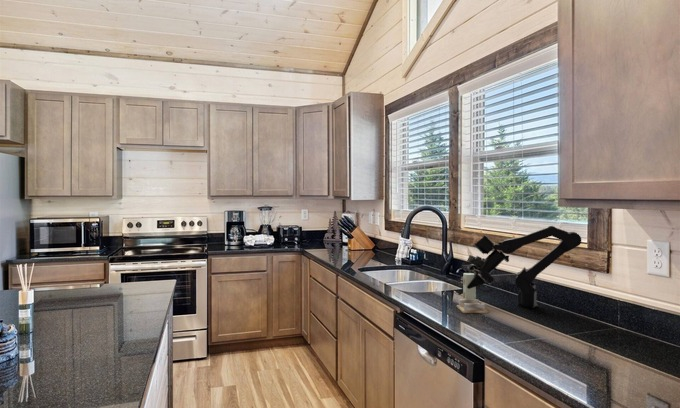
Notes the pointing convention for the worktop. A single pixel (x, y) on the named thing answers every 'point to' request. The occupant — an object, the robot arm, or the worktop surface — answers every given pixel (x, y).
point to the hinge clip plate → (471, 306)
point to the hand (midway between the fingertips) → (466, 287)
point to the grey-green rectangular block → (466, 280)
